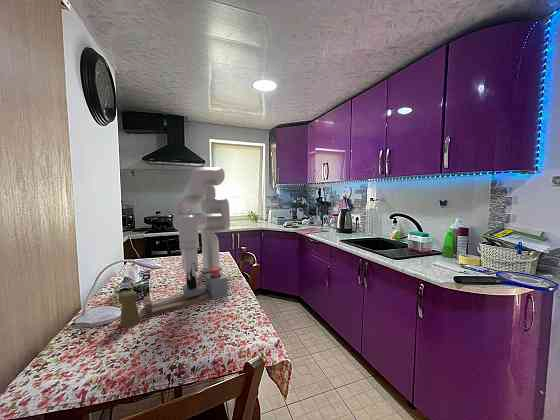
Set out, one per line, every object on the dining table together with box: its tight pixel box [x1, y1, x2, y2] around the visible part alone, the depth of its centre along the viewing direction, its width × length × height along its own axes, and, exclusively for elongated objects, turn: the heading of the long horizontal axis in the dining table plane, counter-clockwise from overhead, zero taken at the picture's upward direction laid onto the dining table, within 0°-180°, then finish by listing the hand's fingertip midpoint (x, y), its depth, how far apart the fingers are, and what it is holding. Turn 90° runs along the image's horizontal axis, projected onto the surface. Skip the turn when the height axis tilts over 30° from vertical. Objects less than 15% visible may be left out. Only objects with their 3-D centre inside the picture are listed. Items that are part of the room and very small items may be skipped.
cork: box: [119, 290, 141, 328], centre depth 82 cm, size 6×6×11 cm
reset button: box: [209, 267, 222, 278], centre depth 105 cm, size 5×5×4 cm
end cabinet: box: [204, 271, 229, 300], centre depth 105 cm, size 10×7×8 cm
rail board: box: [143, 288, 212, 318], centre depth 96 cm, size 10×24×4 cm, turn 124°
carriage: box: [182, 275, 202, 298], centre depth 99 cm, size 7×6×8 cm
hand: (191, 286), depth 99 cm, fingers closed on carriage, 2 cm apart
